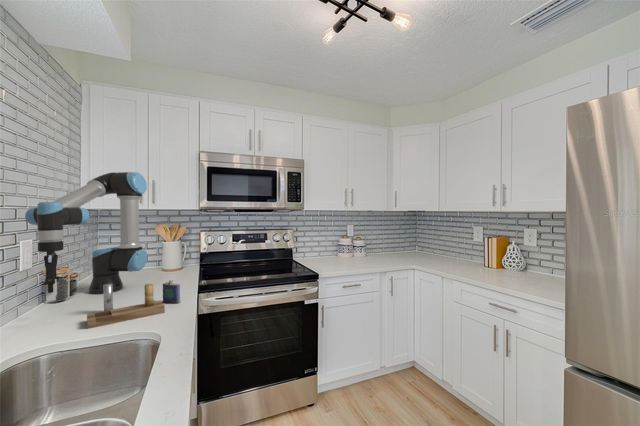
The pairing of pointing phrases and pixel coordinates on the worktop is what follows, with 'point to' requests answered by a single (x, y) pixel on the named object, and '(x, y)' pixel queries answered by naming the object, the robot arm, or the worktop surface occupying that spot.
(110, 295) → the peg
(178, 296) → the flask
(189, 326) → the worktop surface
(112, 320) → the board
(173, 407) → the worktop surface
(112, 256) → the robot arm
